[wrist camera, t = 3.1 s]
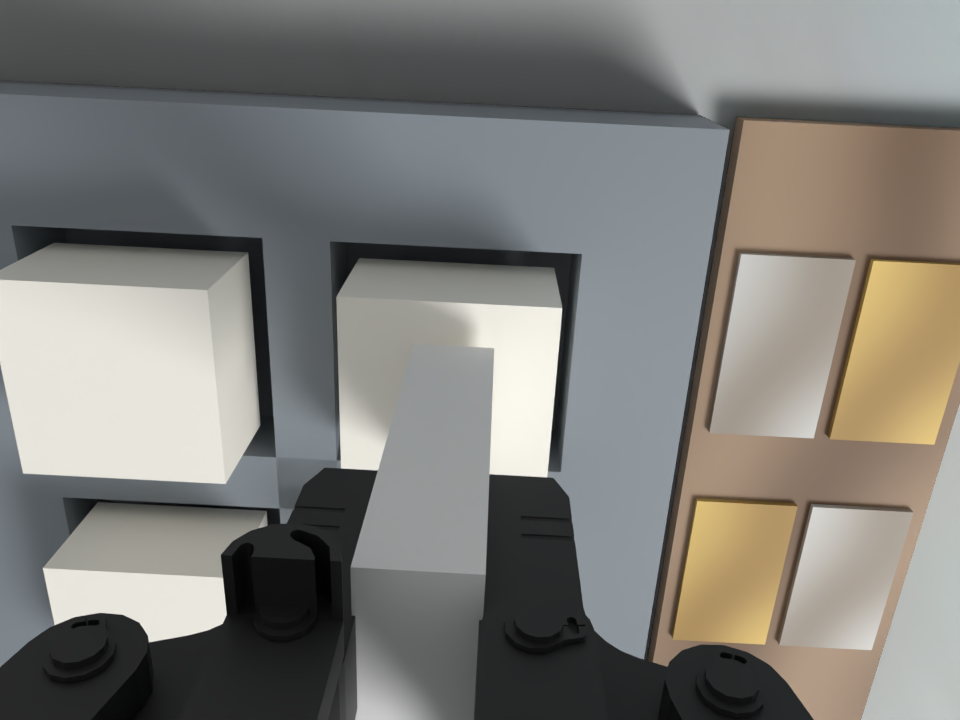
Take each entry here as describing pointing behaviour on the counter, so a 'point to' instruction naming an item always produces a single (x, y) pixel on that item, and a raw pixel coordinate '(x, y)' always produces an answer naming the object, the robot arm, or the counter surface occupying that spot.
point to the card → (816, 401)
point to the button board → (382, 235)
